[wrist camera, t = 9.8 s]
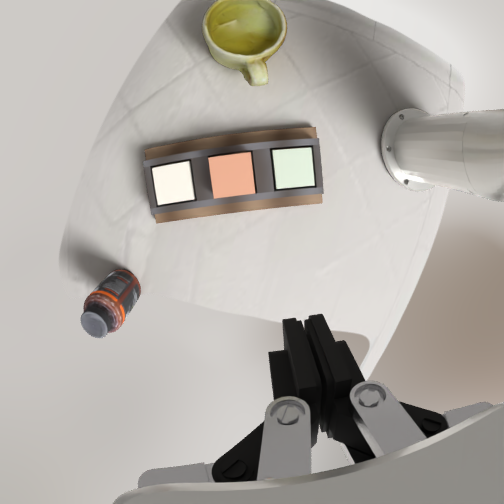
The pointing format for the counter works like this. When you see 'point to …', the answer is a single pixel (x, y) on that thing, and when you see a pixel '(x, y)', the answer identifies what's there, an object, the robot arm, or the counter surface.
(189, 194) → the key cream
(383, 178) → the counter surface
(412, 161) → the robot arm
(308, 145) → the key panel
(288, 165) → the key sage
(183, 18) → the counter surface
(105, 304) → the supplement bottle
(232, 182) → the key terracotta
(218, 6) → the mug
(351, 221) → the counter surface
